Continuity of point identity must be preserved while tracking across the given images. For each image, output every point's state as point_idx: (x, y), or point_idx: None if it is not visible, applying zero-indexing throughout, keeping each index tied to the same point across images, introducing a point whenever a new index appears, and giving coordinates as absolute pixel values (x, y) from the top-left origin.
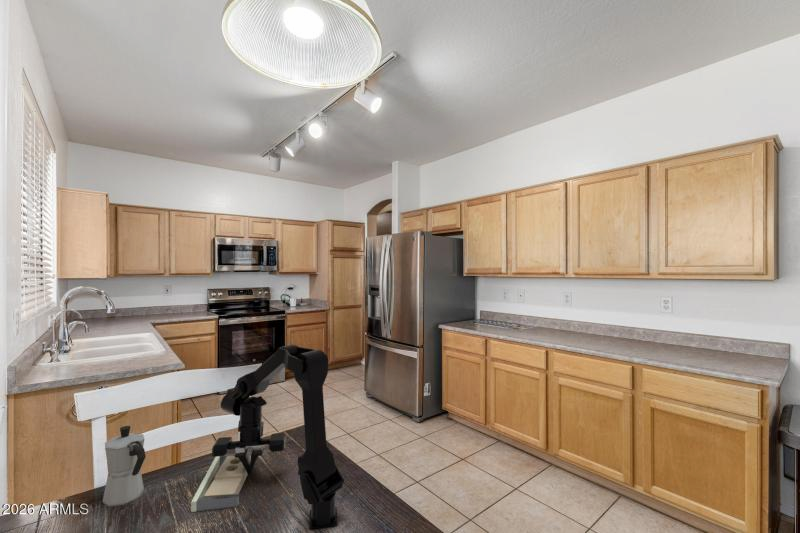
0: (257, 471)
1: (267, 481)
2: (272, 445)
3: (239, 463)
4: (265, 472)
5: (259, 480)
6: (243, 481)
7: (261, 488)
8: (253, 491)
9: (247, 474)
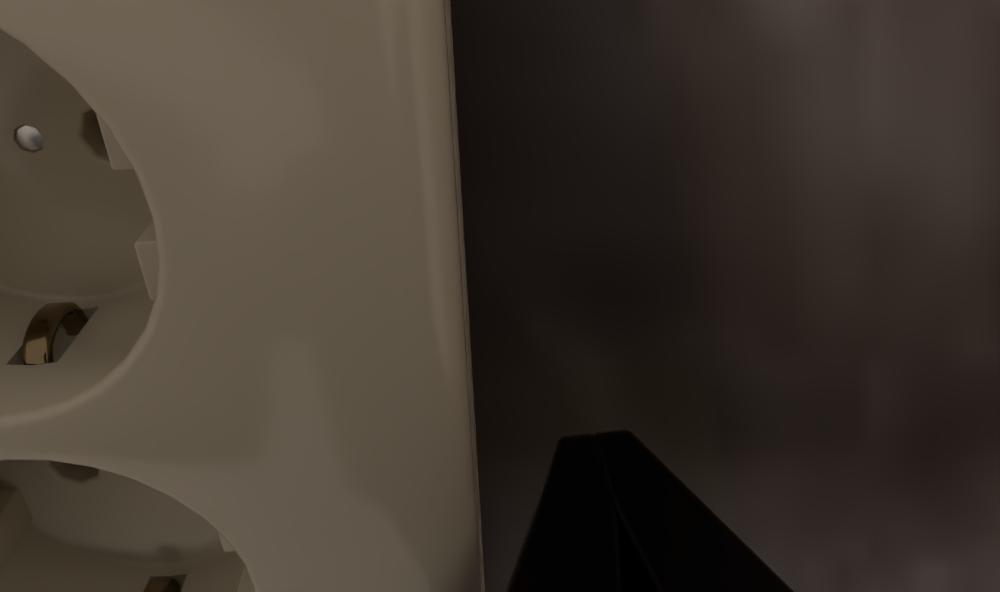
0: (684, 18)
1: (929, 417)
2: None
3: (169, 391)
4: (897, 85)
5: (773, 382)
6: (478, 491)
7: (824, 576)
8: None
9: (460, 180)
